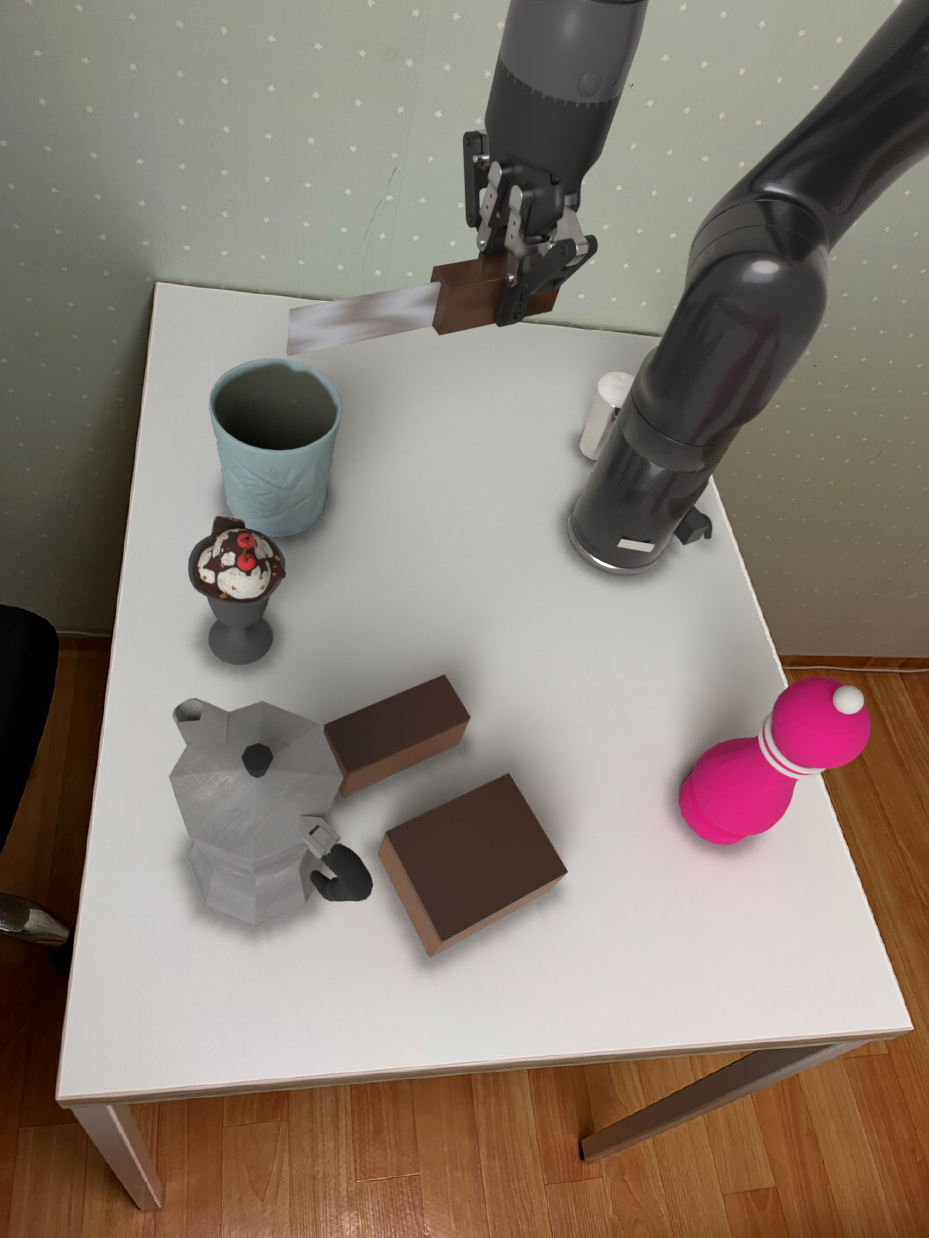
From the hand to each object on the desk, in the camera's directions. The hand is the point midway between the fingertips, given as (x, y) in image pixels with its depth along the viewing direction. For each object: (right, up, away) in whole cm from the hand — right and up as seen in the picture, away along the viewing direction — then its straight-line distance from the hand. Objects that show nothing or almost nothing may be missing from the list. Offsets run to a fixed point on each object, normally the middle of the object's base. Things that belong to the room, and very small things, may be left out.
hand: (495, 308), depth 64 cm
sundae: (-20, -25, +5) cm, 32 cm away
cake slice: (-8, -33, +3) cm, 34 cm away
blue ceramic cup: (-19, -13, +13) cm, 27 cm away
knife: (-5, -2, -2) cm, 6 cm away
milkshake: (+11, -6, +25) cm, 28 cm away
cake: (-2, -41, -1) cm, 42 cm away
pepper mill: (+18, -38, +6) cm, 42 cm away
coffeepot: (-16, -40, -4) cm, 44 cm away
